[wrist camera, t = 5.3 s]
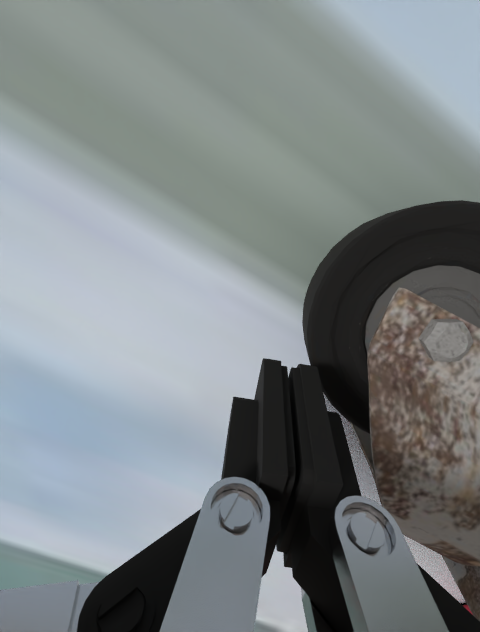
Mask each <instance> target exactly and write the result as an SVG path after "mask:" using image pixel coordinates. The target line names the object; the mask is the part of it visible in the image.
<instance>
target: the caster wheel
mask: <svg viewBox="0 0 480 632" xmlns="http://www.w3.org/2000/svg"><path fill="white" fill-rule="evenodd" d="M302 323H303V332H304V340H305V344H306V348H307V353H308V357H309V361H310V364H311V366H316V367H317V368H318V372H319V377H320V381H321V386H322V390H323V392H324V394H325V395H326V397H327V398H328V400H329V402H330V403H331V405H332V406H333V407H335V408H336V409H337V410H338V411H339V412H340V413H341V414H342V415H343V416H344V417H345V418H346V419H347V420H348V421H350V423H351V425H352V428H353V430H354V433H355V435H356V437H357V439H358V442H359V444H360V446H361V448H362V450H363V452H364V455H365V457H366V459H367V461H368V464H369V466H370V468H371V471H372V474H373V477H374V480H375V483H376V487H377V490H378V494H379V498H380V501H381V504H382V507H384V508H385V509H386V510H387V511H388V512H389V513H390V514H391V516H392V517H393V518H394V519H395V521H396V523H397V524H398V526H399V528H400V530H401V532H402V534H403V535H405V536H407V537H409V538H411V539H413V540H414V541H416V542H418V543H420V544H422V545H424V546H426V547H428V548H430V549H431V550H433V551H435V552H437V553H439V554H441V555H442V557H443V559H444V560H445V562H446V564H447V566H448V568H449V570H450V572H451V574H452V576H453V578H454V580H455V582H456V584H457V586H458V587H459V589H460V591H461V593H462V595H463V597H464V599H465V601H466V603H467V605H468V607H469V609H470V611H471V613H472V614H473V616H474V617H475V618H477V619H478V620H479V621H480V203H477V202H470V201H443V202H435V203H430V204H424V205H418V206H414V207H410V208H406V209H402V210H399V211H395V212H391V213H387V214H385V215H383V216H380V217H378V218H376V219H373V220H371V221H368V222H366V223H364V224H362V225H361V226H359V227H358V228H356V229H355V230H353V231H352V232H350V233H349V234H348V235H347V236H345V237H344V238H343V239H342V240H341V241H340V242H338V243H337V244H336V245H335V246H334V247H333V248H332V249H331V250H330V252H329V253H328V254H327V256H326V257H325V258H324V259H323V261H322V262H321V263H320V265H319V266H318V268H317V270H316V272H315V274H314V276H313V278H312V280H311V282H310V284H309V287H308V290H307V293H306V297H305V301H304V308H303V322H302Z"/></svg>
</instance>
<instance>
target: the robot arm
mask: <svg viewBox="0 0 480 632" xmlns="http://www.w3.org/2000/svg"><path fill="white" fill-rule="evenodd" d="M275 546H276V547H277V551H279V552H284V567H290V568H292V572H293V578H294V579H295V580H296V581H297V583H298V584H299V585H300V586H301V592H302V602H303V607H304V612H305V617H306V623H307V628H308V632H480V621H479V620H478V619H477V618H475V617H474V616H473V615H472V614H471V613H470V612H469V611H468V610H467V609H466V608H465V607H464V606H462V605H461V604H460V603H459V602H458V601H457V600H456V599H455V598H454V597H453V596H452V595H451V594H449V593H448V592H447V591H446V590H445V589H444V588H443V587H442V586H441V585H440V584H439V583H438V582H436V581H435V580H434V579H433V578H432V577H431V576H430V575H429V574H428V573H427V572H426V571H425V570H423V569H422V568H421V567H420V566H419V565H418V564H417V563H416V561H415V559H414V557H413V555H412V553H411V551H410V549H409V546H408V544H407V542H406V540H405V538H404V536H403V534H402V532H401V530H400V528H399V526H398V524H397V523H396V521H395V519H394V518H393V517H392V516H391V514H390V513H389V512H388V511H387V510H386V509H385V508H384V507H382V506H381V505H379V504H378V503H377V502H375V501H373V500H371V499H368V498H366V497H362V496H361V493H360V489H359V485H358V481H357V477H356V474H355V470H354V466H353V462H352V459H351V455H350V451H349V447H348V444H347V440H346V436H345V432H344V428H343V425H342V421H341V418H340V415H339V414H338V413H335V412H329V411H327V408H326V404H325V399H324V395H323V390H322V386H321V381H320V377H319V372H318V368H317V367H316V366H310V365H303V364H298V366H297V368H291V370H290V374H289V377H288V372H287V367H286V366H281V361H277V360H271V359H264V358H263V361H262V365H261V370H260V375H259V380H258V385H257V389H256V394H255V399H254V400H252V399H245V398H239V397H233V403H232V409H231V415H230V421H229V428H228V434H227V442H226V449H225V456H224V464H223V471H222V478H221V480H220V481H218V482H216V483H215V484H214V485H213V486H212V487H211V488H210V489H209V491H208V493H207V495H206V497H205V499H204V502H203V505H202V508H201V509H200V510H199V511H197V512H196V513H195V514H193V515H192V516H190V517H189V518H188V519H186V520H185V521H183V522H182V523H180V524H179V525H178V526H176V527H175V528H173V529H172V530H171V531H169V532H168V533H166V534H165V535H164V536H162V537H161V538H159V539H158V540H157V541H155V542H154V543H152V544H151V545H150V546H148V547H147V548H145V549H144V550H143V551H141V552H140V553H138V554H137V555H135V556H134V557H133V558H131V559H130V560H128V561H127V562H126V563H124V564H123V565H121V566H120V567H119V568H117V569H116V570H114V571H113V572H112V573H110V574H109V575H107V576H106V577H105V578H104V579H103V580H102V581H100V582H96V583H88V584H80V585H79V581H78V580H77V581H69V582H61V583H53V584H45V585H37V586H29V587H20V588H12V589H4V590H0V632H254V626H255V619H256V612H257V605H258V598H259V591H260V584H261V577H262V576H263V575H264V574H265V573H266V572H267V569H268V566H269V563H270V560H271V557H272V554H273V552H274V549H275Z"/></svg>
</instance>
